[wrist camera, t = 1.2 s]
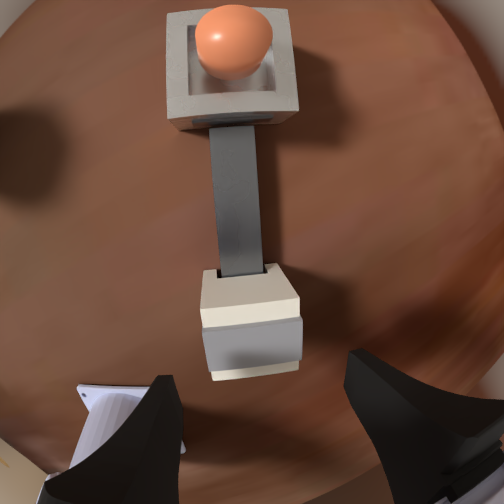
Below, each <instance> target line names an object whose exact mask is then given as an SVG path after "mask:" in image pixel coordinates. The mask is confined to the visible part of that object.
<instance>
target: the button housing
mask: <svg viewBox="0 0 504 504" xmlns="http://www.w3.org/2000/svg"><path fill="white" fill-rule="evenodd" d="M253 9H255V10H257V11H258V12H260V13H261V14H263V15H264V16H265V17H266V18H267V20H268V21H269V23H270V24H271V27H272V31H273V39H272V42H271V45H270V47H269V49H268V51H267V53H266V55H265V57H264V59H263V61H262V64H261V66H260V67H259V68H258V69H257V71H256V72H254V73H253V74H252V75H250V76H248V77H246V78H243V79H239V80H222V79H218V78H215V77H213V76H211V75H210V74H208V73H207V72H206V71H205V70H204V69H203V68H202V66H201V65H200V62H199V59H198V53H197V46H196V38H195V30H196V27H197V24H198V22H199V21H200V19H201V18H202V17H203V16H204V15H205V14H206V13H208V12H209V11H211V10H213V9H201V10H191V11H182V12H175V13H168V14H167V33H166V86H167V116H168V120H169V121H170V122H171V123H172V124H173V125H174V126H175V127H176V128H177V130H178V131H181V130H189V129H199V128H209V127H221V126H235V125H254V124H281V123H282V122H284V121H285V120H287V119H288V118H289V117H291V116H292V115H294V114H295V113H297V112H298V111H299V104H298V93H297V83H296V73H295V64H294V55H293V47H292V39H291V31H290V24H289V17H288V10H287V9H277V8H253Z"/></svg>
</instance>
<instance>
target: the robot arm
mask: <svg viewBox="0 0 504 504" xmlns="http://www.w3.org/2000/svg"><path fill="white" fill-rule="evenodd" d="M344 389H345V391H346V394H347V397H348V399H349V401H350V404H351V406H352V408H353V409H354V411H355V413H356V415H357V416H358V418H359V420H360V422H361V423H362V425H363V427H364V428H365V430H366V432H367V434H368V435H369V437H370V439H371V440H372V442H373V444H374V446H375V448H376V451H377V453H378V455H379V458H380V460H381V463H382V465H383V468H384V471H385V474H386V476H387V479H388V482H389V486H390V489H391V492H392V495H393V499H394V503H395V504H504V451H502V450H501V449H500V447H501V446H502V442H501V441H500V440H499V438H500V437H501V436H502V434H503V433H504V400H496V399H480V398H474V397H468V396H463V395H458V394H454V393H451V392H447V391H444V390H441V389H438V388H435V387H433V386H430V385H427V384H425V383H423V382H421V381H418V380H416V379H414V378H412V377H410V376H408V375H406V374H405V373H403V372H401V371H399V370H397V369H396V368H394V367H392V366H390V365H389V364H387V363H385V362H384V361H382V360H381V359H379V358H377V357H376V356H374V355H372V354H371V353H369V352H368V351H366V350H364V349H362V348H361V349H357V350H352V351H349V355H348V361H347V368H346V374H345V380H344ZM77 390H78V392H79V394H80V396H81V398H82V400H83V402H84V403H85V405H86V407H87V409H88V410H89V415H88V417H87V420H86V423H85V425H84V428H83V430H82V433H81V436H80V439H79V441H78V444H77V447H76V450H75V453H74V456H73V459H72V461H71V464H70V468H69V470H67V471H65V472H63V473H60V472H57V473H56V474H50V475H48V477H47V478H46V480H45V482H44V484H43V486H42V489H41V491H40V494H39V496H38V499H37V502H36V504H179V494H178V472H179V463H180V454H181V453H185V452H186V448H185V446H184V444H183V441H182V436H183V407H182V404H181V401H180V398H179V395H178V392H177V389H176V385H175V382H174V379H173V375H158V376H157V377H156V378H155V380H154V381H153V383H152V384H151V386H150V387H121V386H98V385H83V384H80V385H78V387H77Z"/></svg>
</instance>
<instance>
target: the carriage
mask: <svg viewBox="0 0 504 504" xmlns="http://www.w3.org/2000/svg"><path fill="white" fill-rule="evenodd" d="M264 267H265V274H257V275H247V276H238V277H228V278H218V279H217V270H216V269H214V270H204V272H203V282H202V293H201V304H200V312H201V318H202V324H203V326H202V336H203V341H204V347H205V352H206V358H207V363H208V368H209V372H211V373H212V378H213V381H217V380H228V379H237V378H246V377H254V376H262V375H269V374H275V373H282V372H288V371H294V370H298V368H299V360H302V337H303V320H302V318H301V316H300V298H299V296H298V295H297V293H296V291H295V290H294V288H293V287H292V285H291V284H290V282H289V281H288V279H287V278H286V276H285V275H284V273H283V272H282V270H281V269H280V267H279V266H278V264H277V263H272V264H264Z"/></svg>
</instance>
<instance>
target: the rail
mask: <svg viewBox="0 0 504 504" xmlns="http://www.w3.org/2000/svg"><path fill="white" fill-rule="evenodd" d="M209 137H210V151H211V165H212V178H213V190H214V202H215V213H216V224H217V235H218V245H219V255H220V264H221V274H222V278H228V277H238V276H247V275H257V274H263V260H262V242H261V226H260V209H259V193H258V178H257V163H256V148H255V133H254V126H237V127H222V128H210V129H209Z"/></svg>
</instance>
